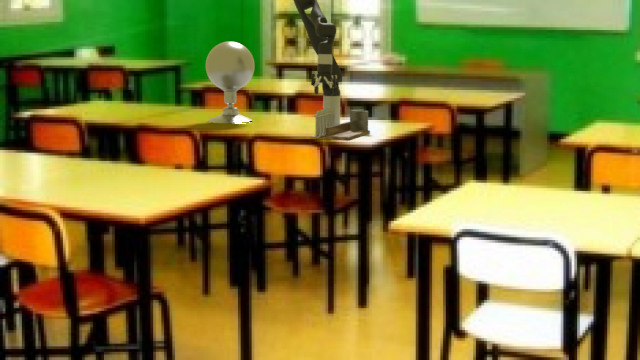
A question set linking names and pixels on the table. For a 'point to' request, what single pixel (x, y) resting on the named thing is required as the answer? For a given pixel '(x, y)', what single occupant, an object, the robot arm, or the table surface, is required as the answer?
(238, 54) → the desk lamp
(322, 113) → the long lego plate
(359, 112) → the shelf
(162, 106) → the table surface
